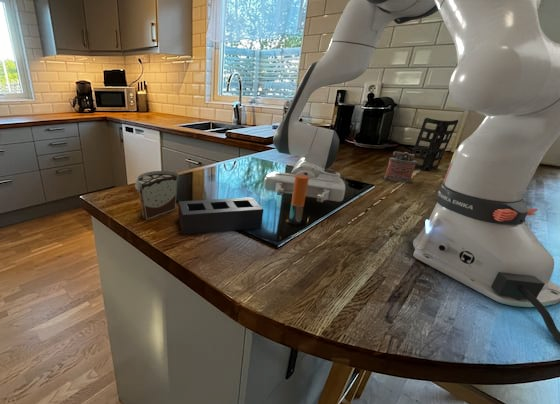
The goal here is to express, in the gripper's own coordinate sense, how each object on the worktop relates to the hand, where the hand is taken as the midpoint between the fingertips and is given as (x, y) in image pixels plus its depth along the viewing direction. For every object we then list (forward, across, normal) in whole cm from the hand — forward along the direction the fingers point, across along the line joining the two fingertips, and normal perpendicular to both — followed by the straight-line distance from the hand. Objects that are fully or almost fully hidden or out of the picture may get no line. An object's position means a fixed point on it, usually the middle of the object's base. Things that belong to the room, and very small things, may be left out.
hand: (299, 195), depth 73 cm
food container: (+11, -35, +7) cm, 37 cm away
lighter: (-50, +29, +7) cm, 58 cm away
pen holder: (+11, -17, +7) cm, 21 cm away
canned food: (-51, +49, +7) cm, 71 cm away
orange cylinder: (+2, 0, +7) cm, 7 cm away
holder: (-72, +41, +7) cm, 83 cm away
